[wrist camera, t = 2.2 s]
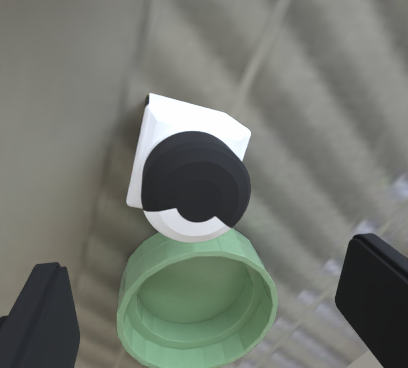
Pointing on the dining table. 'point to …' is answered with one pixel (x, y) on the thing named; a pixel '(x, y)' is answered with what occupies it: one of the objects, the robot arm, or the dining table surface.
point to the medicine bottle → (189, 170)
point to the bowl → (194, 302)
